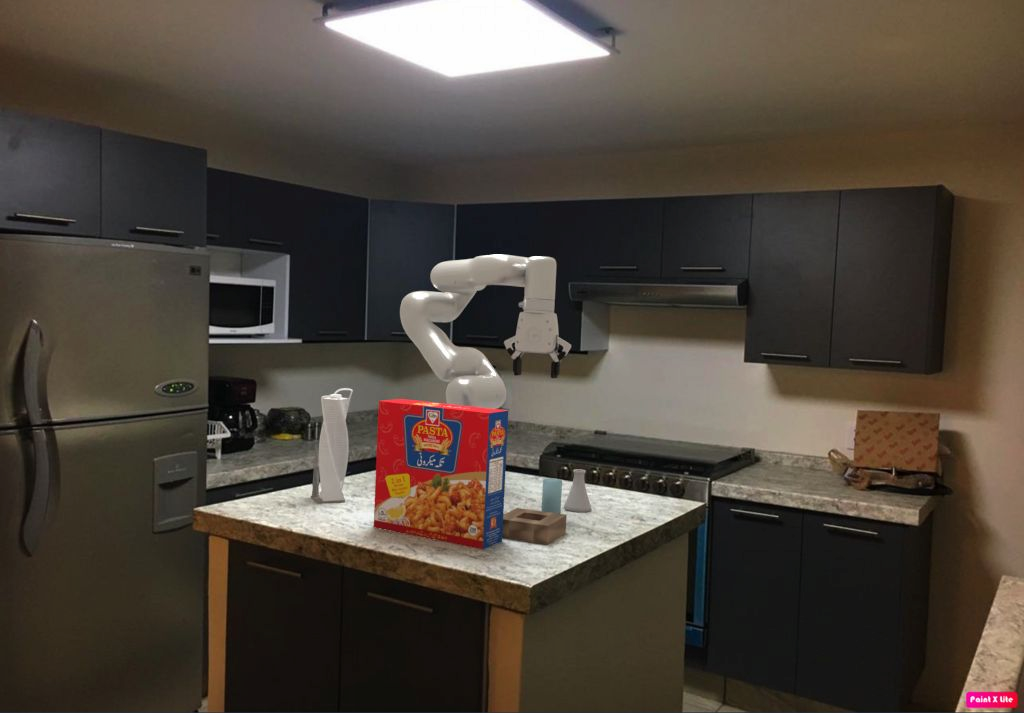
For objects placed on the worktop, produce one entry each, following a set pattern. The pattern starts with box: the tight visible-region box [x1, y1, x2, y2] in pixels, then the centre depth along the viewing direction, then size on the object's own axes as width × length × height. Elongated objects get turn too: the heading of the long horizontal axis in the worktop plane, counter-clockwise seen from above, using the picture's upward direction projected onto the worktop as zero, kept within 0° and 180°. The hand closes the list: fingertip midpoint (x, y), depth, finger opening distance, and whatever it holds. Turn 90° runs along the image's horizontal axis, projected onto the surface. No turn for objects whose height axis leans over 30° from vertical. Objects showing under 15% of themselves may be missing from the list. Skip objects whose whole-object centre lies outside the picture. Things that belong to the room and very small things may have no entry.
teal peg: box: [541, 477, 563, 514], centre depth 198 cm, size 4×4×10 cm
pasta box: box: [373, 398, 509, 550], centre depth 182 cm, size 28×8×28 cm, turn 61°
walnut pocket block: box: [502, 507, 567, 545], centre depth 186 cm, size 12×12×4 cm
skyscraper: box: [310, 387, 354, 504], centre depth 210 cm, size 8×8×28 cm
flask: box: [563, 468, 592, 513], centre depth 213 cm, size 7×7×10 cm
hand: (535, 376), depth 208 cm, fingers open, 9 cm apart
